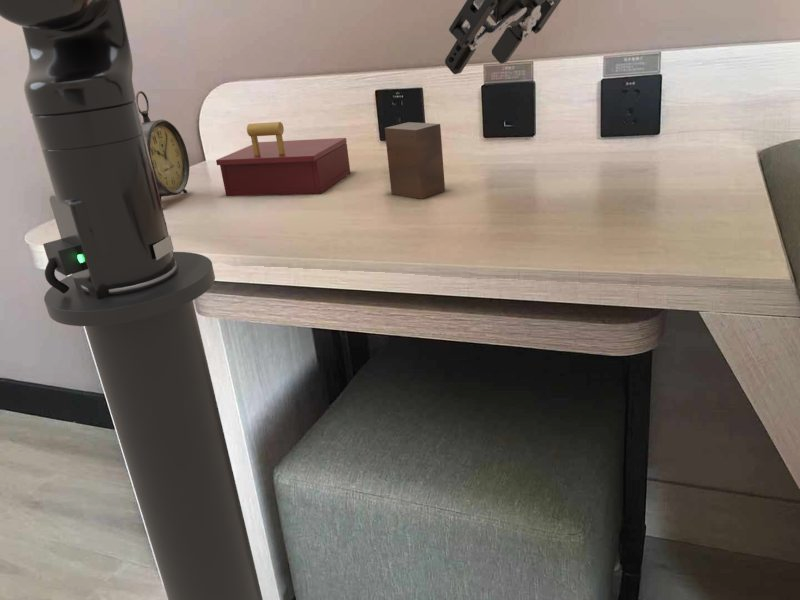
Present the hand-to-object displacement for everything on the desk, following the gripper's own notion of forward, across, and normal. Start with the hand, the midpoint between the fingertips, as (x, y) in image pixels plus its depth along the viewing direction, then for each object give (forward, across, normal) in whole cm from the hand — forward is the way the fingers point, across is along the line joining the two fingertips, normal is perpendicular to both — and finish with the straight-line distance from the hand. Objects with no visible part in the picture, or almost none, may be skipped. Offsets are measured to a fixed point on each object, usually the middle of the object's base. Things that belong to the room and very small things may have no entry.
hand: (475, 63), depth 79 cm
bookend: (+20, 0, +3) cm, 20 cm away
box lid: (+32, +4, -16) cm, 37 cm away
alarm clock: (+43, +20, -21) cm, 52 cm away
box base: (+36, +4, -13) cm, 39 cm away
